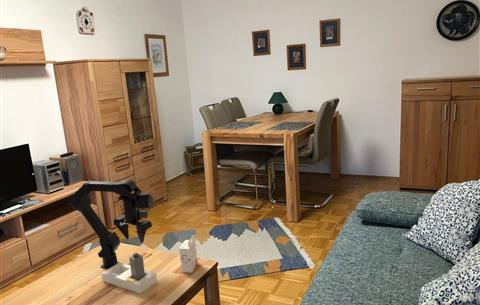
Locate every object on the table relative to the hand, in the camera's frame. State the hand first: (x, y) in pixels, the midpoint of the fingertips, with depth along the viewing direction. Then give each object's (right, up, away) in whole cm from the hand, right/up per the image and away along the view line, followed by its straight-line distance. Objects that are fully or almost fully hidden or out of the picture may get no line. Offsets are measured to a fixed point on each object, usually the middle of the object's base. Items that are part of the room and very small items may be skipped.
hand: (134, 240), depth 178 cm
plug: (+5, -16, -12) cm, 21 cm away
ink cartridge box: (+25, -12, -1) cm, 28 cm away
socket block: (0, -16, -9) cm, 18 cm away
